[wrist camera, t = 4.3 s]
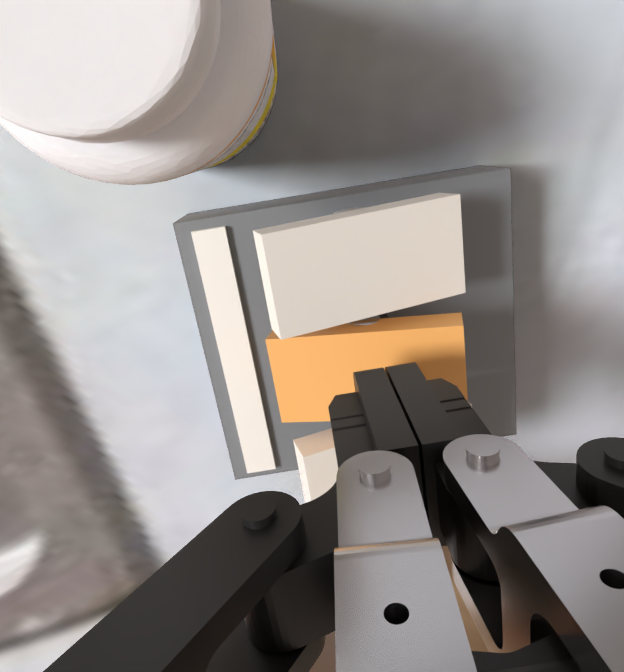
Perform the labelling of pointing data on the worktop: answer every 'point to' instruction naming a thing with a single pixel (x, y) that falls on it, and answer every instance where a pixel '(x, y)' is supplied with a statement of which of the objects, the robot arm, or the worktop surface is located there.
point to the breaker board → (475, 305)
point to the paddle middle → (361, 358)
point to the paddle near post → (317, 463)
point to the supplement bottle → (136, 83)
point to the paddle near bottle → (361, 262)
